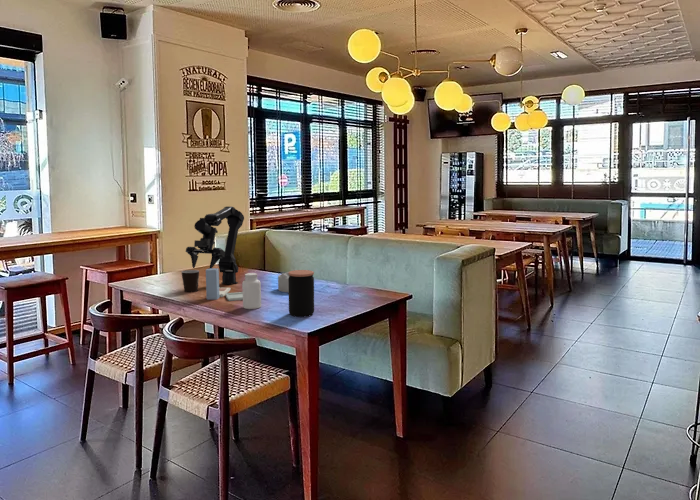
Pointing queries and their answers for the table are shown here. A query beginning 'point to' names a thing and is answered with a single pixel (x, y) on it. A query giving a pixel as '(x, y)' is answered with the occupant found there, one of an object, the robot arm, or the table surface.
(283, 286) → the lumpy-topped squat cylinder
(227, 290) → the board
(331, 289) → the table surface
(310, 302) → the coffee jar
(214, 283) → the blue tall block
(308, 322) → the table surface
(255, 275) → the pill bottle
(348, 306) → the table surface
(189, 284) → the coffee mug
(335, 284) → the table surface
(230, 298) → the tray
